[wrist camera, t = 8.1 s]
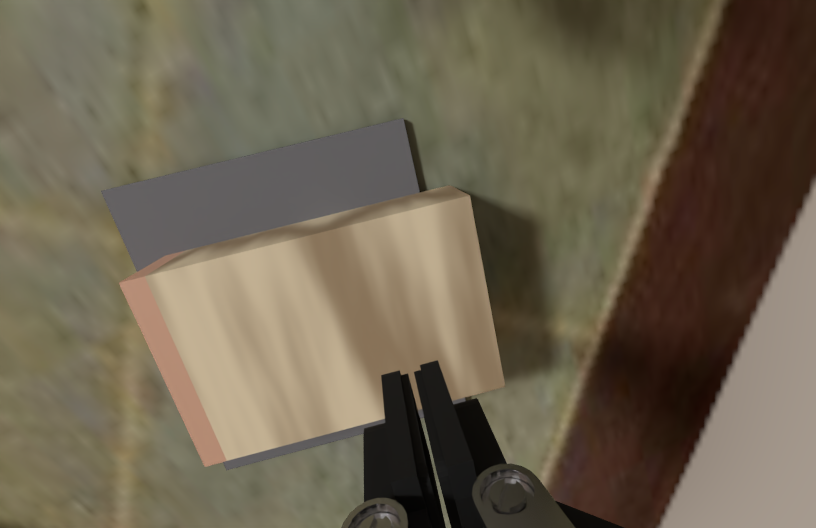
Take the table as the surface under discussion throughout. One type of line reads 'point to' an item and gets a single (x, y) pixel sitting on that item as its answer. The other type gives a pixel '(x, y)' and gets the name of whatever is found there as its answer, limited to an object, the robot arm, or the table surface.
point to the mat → (265, 206)
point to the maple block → (318, 321)
